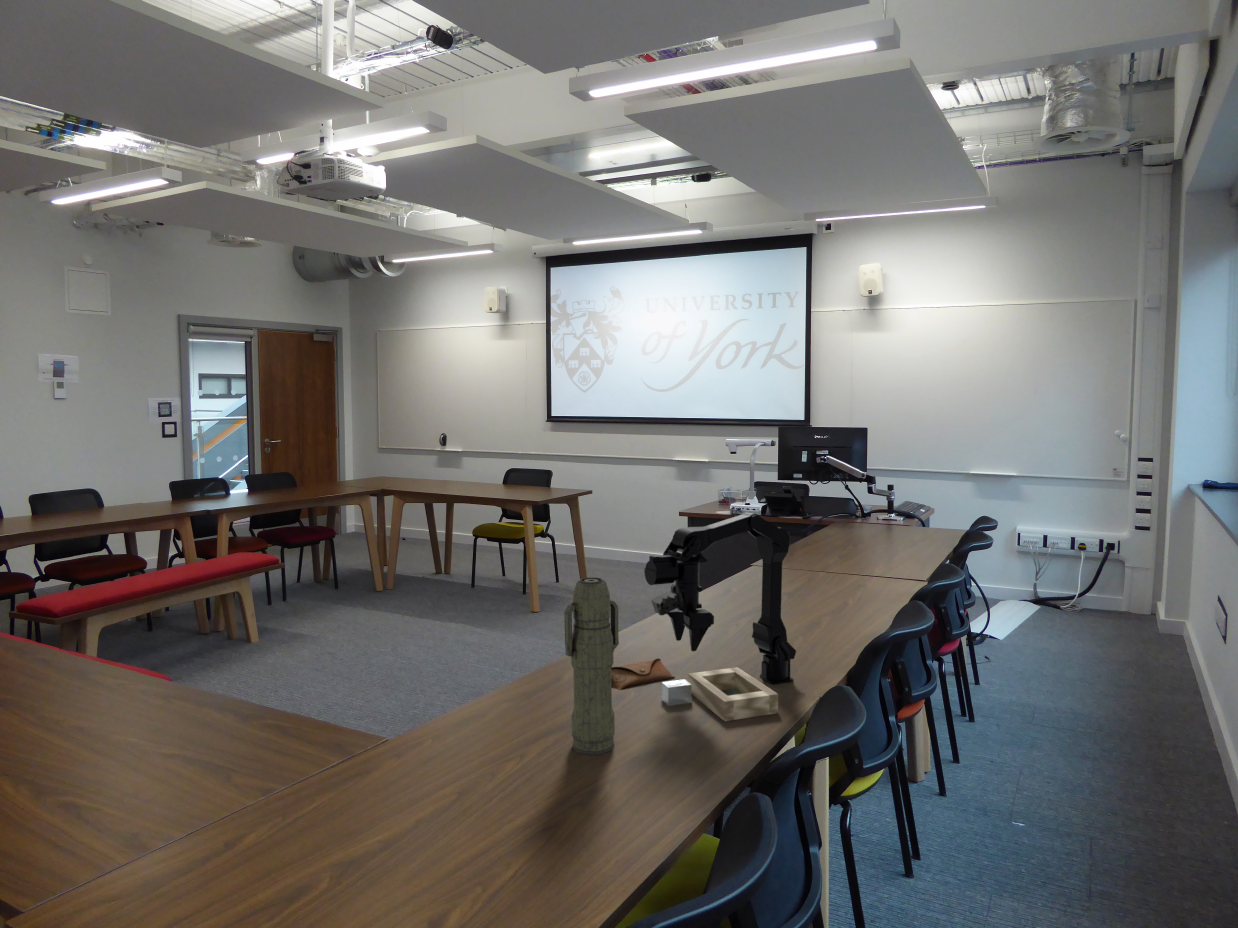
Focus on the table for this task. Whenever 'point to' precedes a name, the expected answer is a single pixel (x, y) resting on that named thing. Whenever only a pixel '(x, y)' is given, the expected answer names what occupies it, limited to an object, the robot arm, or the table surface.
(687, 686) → the grey rectangular block
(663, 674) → the sunglasses case
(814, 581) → the table surface
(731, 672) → the well
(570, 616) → the thermos
